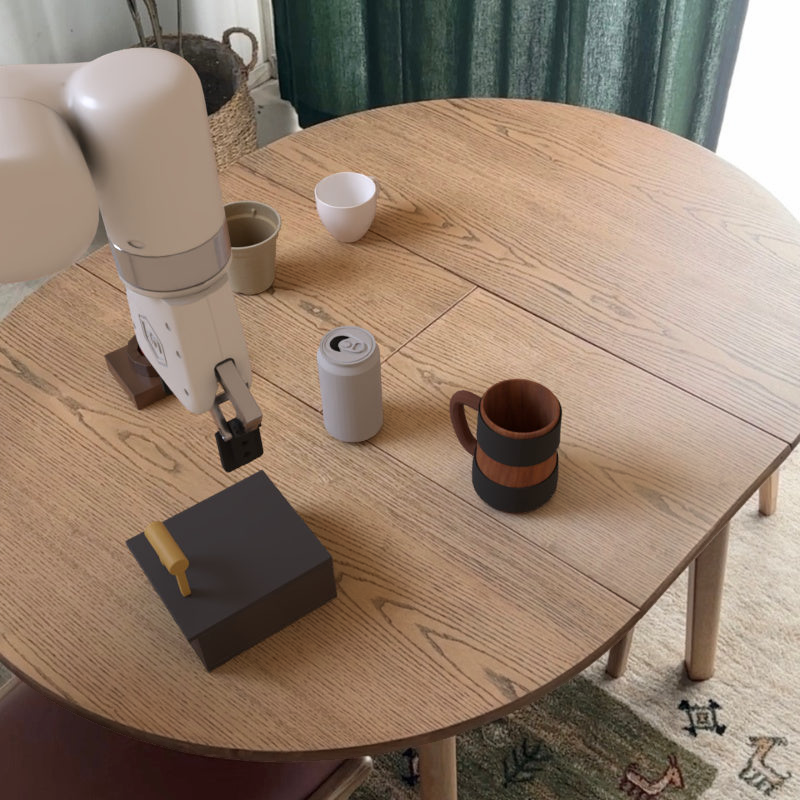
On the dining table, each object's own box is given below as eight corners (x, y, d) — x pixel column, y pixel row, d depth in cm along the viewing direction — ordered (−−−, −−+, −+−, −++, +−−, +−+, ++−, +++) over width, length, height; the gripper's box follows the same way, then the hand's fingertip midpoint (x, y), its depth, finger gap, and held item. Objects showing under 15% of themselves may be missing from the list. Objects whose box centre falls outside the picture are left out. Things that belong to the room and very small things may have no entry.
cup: (306, 236, 137) (301, 193, 132) (356, 199, 143) (353, 156, 138) (351, 259, 134) (348, 215, 129) (401, 220, 139) (400, 177, 134)
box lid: (189, 643, 90) (176, 605, 85) (126, 544, 97) (111, 504, 93) (332, 560, 95) (327, 520, 91) (263, 473, 102) (255, 432, 98)
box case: (208, 673, 94) (197, 638, 90) (147, 577, 101) (134, 541, 97) (337, 596, 99) (332, 560, 95) (270, 510, 107) (263, 473, 102)
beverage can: (339, 397, 117) (331, 316, 108) (393, 412, 115) (389, 331, 107) (314, 437, 113) (304, 356, 104) (369, 453, 111) (363, 372, 103)
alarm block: (138, 410, 117) (130, 384, 114) (108, 369, 121) (100, 343, 118) (218, 372, 120) (212, 346, 118) (186, 333, 125) (180, 308, 122)
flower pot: (304, 274, 132) (297, 217, 126) (253, 315, 127) (243, 258, 121) (248, 247, 136) (239, 191, 130) (197, 286, 131) (185, 229, 125)
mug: (471, 428, 113) (473, 348, 105) (571, 474, 109) (582, 395, 100) (427, 480, 109) (426, 402, 100) (530, 531, 104) (538, 453, 95)
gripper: (65, 201, 72) (120, 378, 84) (179, 341, 62) (222, 519, 74) (164, 163, 75) (204, 340, 87) (289, 291, 65) (313, 471, 77)
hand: (212, 422), depth 81 cm, fingers open, 9 cm apart
